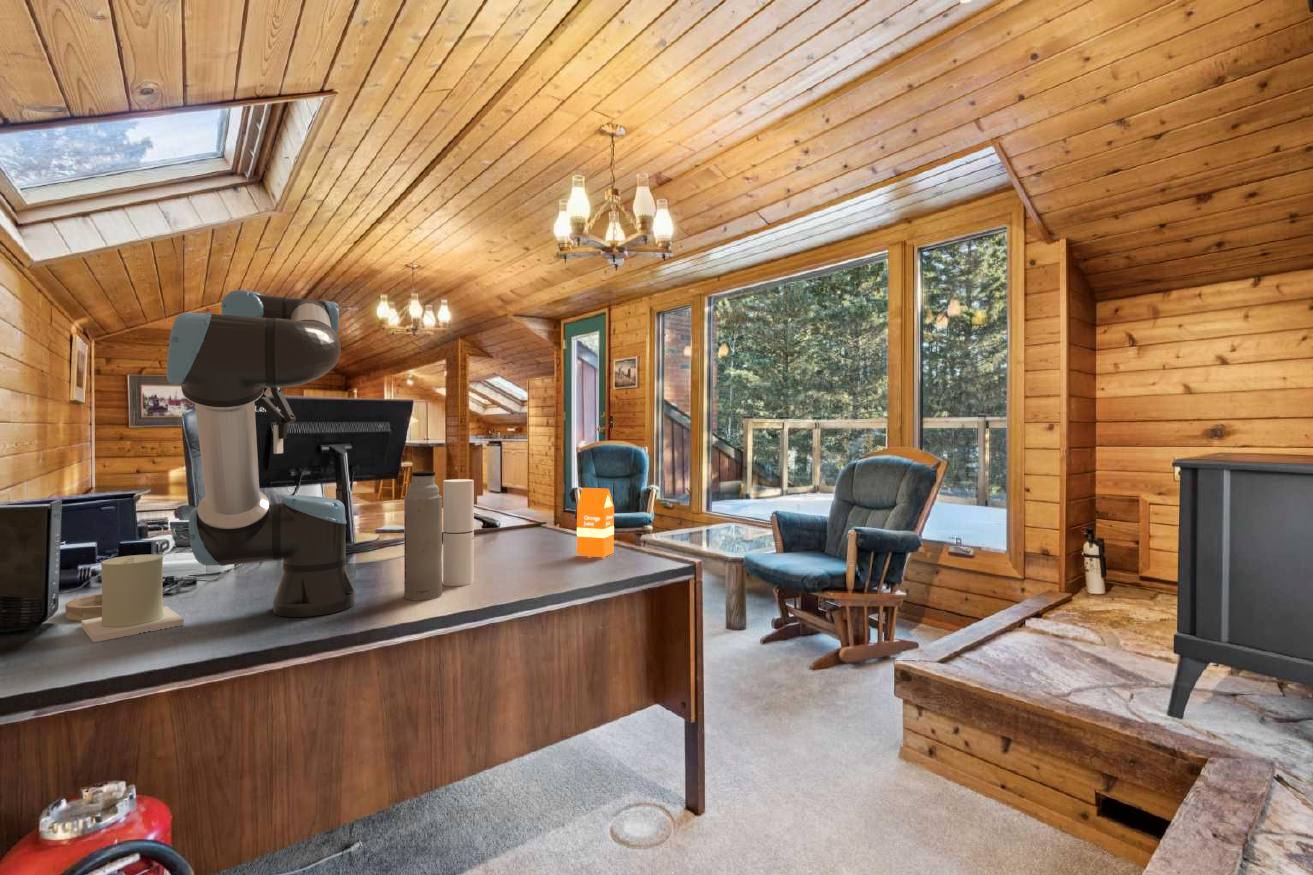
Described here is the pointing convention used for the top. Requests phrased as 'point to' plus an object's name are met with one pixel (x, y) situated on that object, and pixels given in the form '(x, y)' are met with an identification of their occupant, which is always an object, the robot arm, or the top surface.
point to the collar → (84, 608)
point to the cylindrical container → (458, 532)
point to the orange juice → (595, 523)
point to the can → (132, 590)
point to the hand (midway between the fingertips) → (247, 453)
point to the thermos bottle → (423, 538)
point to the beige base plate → (106, 633)
